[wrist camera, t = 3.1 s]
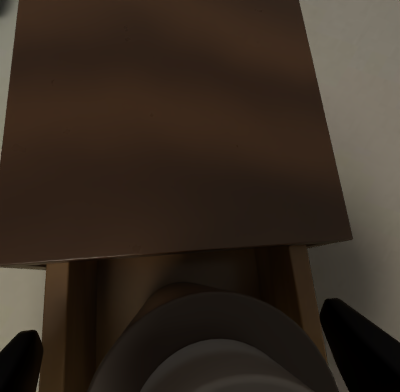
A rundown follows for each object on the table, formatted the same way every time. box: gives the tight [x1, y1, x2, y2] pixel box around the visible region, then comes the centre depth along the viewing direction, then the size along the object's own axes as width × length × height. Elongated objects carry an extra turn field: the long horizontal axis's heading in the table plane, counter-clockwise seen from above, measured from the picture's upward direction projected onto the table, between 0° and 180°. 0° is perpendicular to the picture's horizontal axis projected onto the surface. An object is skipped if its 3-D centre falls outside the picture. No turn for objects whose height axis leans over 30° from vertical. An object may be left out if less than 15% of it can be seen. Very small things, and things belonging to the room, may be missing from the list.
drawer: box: [39, 245, 328, 392], centre depth 13 cm, size 15×11×6 cm
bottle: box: [87, 282, 339, 392], centre depth 8 cm, size 5×5×12 cm
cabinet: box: [0, 0, 353, 270], centre depth 15 cm, size 15×13×8 cm
